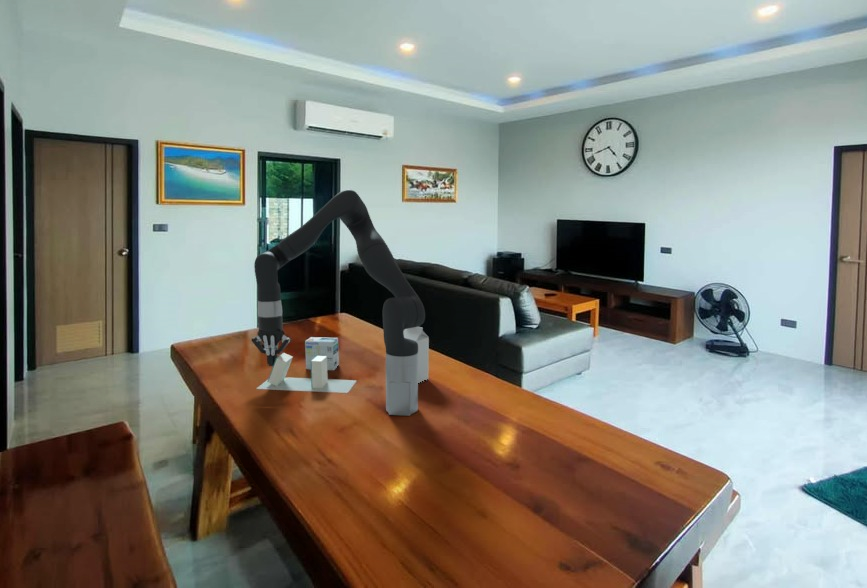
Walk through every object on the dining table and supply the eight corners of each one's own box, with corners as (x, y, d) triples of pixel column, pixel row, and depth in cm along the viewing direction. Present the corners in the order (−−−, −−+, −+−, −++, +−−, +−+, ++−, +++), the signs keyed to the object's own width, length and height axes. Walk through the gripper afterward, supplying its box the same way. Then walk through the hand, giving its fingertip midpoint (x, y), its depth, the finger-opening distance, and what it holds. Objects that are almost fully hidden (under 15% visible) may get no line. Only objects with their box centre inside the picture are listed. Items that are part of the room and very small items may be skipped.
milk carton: (415, 385, 170) (415, 329, 167) (399, 380, 175) (399, 326, 171) (428, 379, 176) (429, 325, 173) (412, 375, 180) (412, 322, 177)
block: (322, 388, 166) (321, 361, 165) (311, 387, 166) (310, 360, 165) (327, 382, 172) (326, 356, 171) (317, 381, 172) (316, 355, 171)
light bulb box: (339, 365, 191) (338, 337, 189) (334, 371, 185) (333, 341, 183) (311, 364, 192) (310, 336, 190) (305, 369, 186) (304, 340, 184)
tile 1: (277, 386, 168) (286, 362, 166) (267, 382, 168) (276, 357, 166) (284, 380, 173) (293, 356, 172) (274, 376, 173) (283, 352, 172)
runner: (347, 393, 162) (347, 392, 162) (256, 389, 165) (256, 388, 165) (357, 380, 174) (356, 380, 174) (271, 377, 177) (271, 376, 177)
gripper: (245, 315, 163) (247, 368, 166) (285, 316, 162) (287, 369, 165) (255, 311, 171) (257, 361, 174) (294, 312, 170) (296, 363, 172)
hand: (272, 365), depth 169 cm, fingers closed
